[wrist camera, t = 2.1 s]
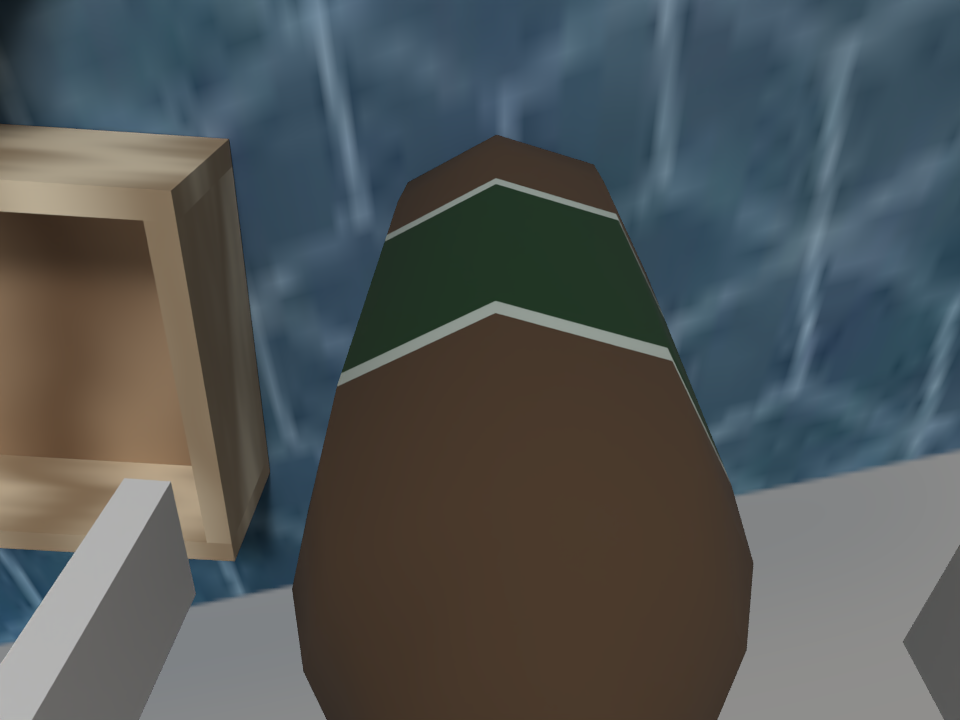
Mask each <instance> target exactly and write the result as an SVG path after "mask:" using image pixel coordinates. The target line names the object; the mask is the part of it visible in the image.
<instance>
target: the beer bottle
mask: <svg viewBox="0 0 960 720" xmlns="http://www.w3.org/2000/svg"><path fill="white" fill-rule="evenodd" d="M752 574H753V560H752V557H751V553H750V550H749V546H748V542H747V539H746V536H745V532H744V528H743V525H742V522H741V518H740V514H739V511H738V507H737V504H736V500H735V497H734V493H733V490H732V486H731V483H730V481H729V478H728V476H727V473H726V471H725V468H724V466H723V463H722V461H721V458H720V456H719V453H718V451H717V448H716V446H715V444H714V441H713V439H712V436H711V434H710V431H709V429H708V426H707V424H706V421H705V419H704V416H703V414H702V411H701V409H700V406H699V404H698V401H697V399H696V396H695V394H694V391H693V389H692V386H691V384H690V381H689V379H688V376H687V374H686V371H685V369H684V366H683V364H682V362H681V359H680V357H679V354H678V352H677V349H676V347H675V344H674V342H673V339H672V337H671V334H670V332H669V329H668V327H667V324H666V322H665V319H664V317H663V314H662V312H661V309H660V307H659V304H658V302H657V299H656V297H655V294H654V292H653V289H652V287H651V284H650V282H649V279H648V277H647V275H646V272H645V270H644V268H643V266H642V263H641V261H640V259H639V257H638V255H637V253H636V250H635V248H634V246H633V244H632V242H631V240H630V237H629V235H628V233H627V231H626V229H625V227H624V224H623V222H622V220H621V218H620V216H619V214H618V211H617V209H616V207H615V205H614V203H613V201H612V199H611V196H610V194H609V192H608V190H607V188H606V186H605V183H604V181H603V180H602V178H601V176H600V175H599V173H598V171H597V169H596V168H595V166H594V165H593V164H590V163H587V162H584V161H580V160H577V159H574V158H571V157H567V156H564V155H561V154H557V153H554V152H551V151H548V150H544V149H541V148H538V147H535V146H531V145H528V144H525V143H522V142H518V141H515V140H512V139H509V138H505V137H502V136H499V135H495V136H493V137H491V138H489V139H488V140H486V141H484V142H482V143H480V144H478V145H477V146H475V147H473V148H471V149H469V150H467V151H465V152H464V153H462V154H460V155H458V156H456V157H454V158H452V159H451V160H449V161H447V162H445V163H443V164H441V165H439V166H438V167H436V168H434V169H432V170H430V171H428V172H426V173H425V174H423V175H421V176H419V177H417V178H415V179H413V180H412V181H410V182H408V183H407V185H406V187H405V189H404V191H403V193H402V195H401V197H400V199H399V201H398V203H397V206H396V209H395V212H394V215H393V218H392V221H391V225H390V228H389V231H388V234H387V237H386V240H385V243H384V246H383V249H382V252H381V255H380V258H379V261H378V264H377V267H376V270H375V273H374V276H373V279H372V282H371V285H370V288H369V291H368V294H367V297H366V300H365V303H364V306H363V309H362V312H361V315H360V319H359V322H358V325H357V328H356V331H355V334H354V337H353V340H352V343H351V346H350V349H349V352H348V355H347V358H346V361H345V364H344V367H343V370H342V373H341V376H340V379H339V382H338V385H337V389H336V393H335V398H334V402H333V406H332V411H331V415H330V419H329V424H328V428H327V432H326V436H325V441H324V445H323V449H322V454H321V458H320V462H319V467H318V471H317V475H316V480H315V484H314V488H313V493H312V497H311V501H310V505H309V510H308V514H307V519H306V524H305V529H304V534H303V539H302V544H301V549H300V553H299V558H298V563H297V568H296V573H295V578H294V583H293V588H292V591H293V598H294V606H295V613H296V620H297V627H298V635H299V641H300V648H301V656H302V664H303V671H304V673H305V675H306V678H307V680H308V681H309V684H310V686H311V688H312V690H313V692H314V694H315V696H316V698H317V700H318V702H319V704H320V706H321V709H322V711H323V713H324V715H325V717H326V719H327V720H717V718H718V717H719V714H720V712H721V709H722V707H723V705H724V702H725V700H726V697H727V695H728V693H729V690H730V688H731V686H732V683H733V681H734V679H735V676H736V674H737V671H738V669H739V667H740V664H741V662H742V659H743V657H744V655H745V652H746V649H747V637H748V624H749V612H750V599H751V586H752Z"/></svg>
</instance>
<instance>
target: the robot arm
mask: <svg viewBox="0 0 960 720" xmlns="http://www.w3.org/2000/svg"><path fill="white" fill-rule="evenodd" d="M195 594H196V593H195V588H194V584H193V579H192V575H191V570H190V566H189V561H188V557H187V552H186V548H185V543H184V539H183V534H182V530H181V525H180V521H179V516H178V512H177V507H176V502H175V498H174V493H173V489H172V484H171V481H158V480H143V479H129V478H124V479H123V481H122V482H121V484H120V485H119V487H118V488H117V490H116V491H115V493H114V494H113V496H112V497H111V499H110V500H109V502H108V503H107V505H106V506H105V508H104V509H103V511H102V512H101V514H100V515H99V517H98V518H97V520H96V521H95V523H94V524H93V526H92V527H91V529H90V530H89V532H88V533H87V535H86V536H85V538H84V539H83V541H82V542H81V544H80V545H79V547H78V548H77V550H76V551H75V553H74V554H73V556H72V557H71V559H70V560H69V562H68V563H67V565H66V566H65V568H64V569H63V571H62V572H61V574H60V575H59V577H58V578H57V580H56V581H55V583H54V584H53V586H52V587H51V589H50V590H49V592H48V593H47V595H46V596H45V598H44V599H43V601H42V602H41V604H40V605H39V607H38V608H37V610H36V611H35V613H34V614H33V616H32V617H31V619H30V620H29V622H28V623H27V625H26V626H25V628H24V629H23V631H22V632H21V634H20V635H19V637H18V638H17V640H16V641H15V643H14V644H13V646H12V647H11V649H10V651H9V652H8V653H7V655H6V657H5V658H4V659H3V661H2V662H1V664H0V720H139V718H140V716H141V714H142V712H143V709H144V707H145V705H146V703H147V701H148V698H149V696H150V694H151V692H152V690H153V687H154V685H155V683H156V680H157V678H158V676H159V674H160V672H161V669H162V667H163V665H164V663H165V661H166V659H167V656H168V654H169V652H170V650H171V647H172V645H173V643H174V641H175V639H176V636H177V634H178V632H179V630H180V627H181V625H182V623H183V621H184V619H185V616H186V614H187V612H188V610H189V608H190V605H191V603H192V601H193V599H194V597H195ZM903 643H904V645H905V647H906V649H907V651H908V653H909V654H910V656H911V658H912V660H913V662H914V664H915V665H916V667H917V669H918V671H919V673H920V675H921V677H922V679H923V681H924V682H925V684H926V686H927V688H928V690H929V692H930V694H931V696H932V698H933V700H934V701H935V703H936V705H937V707H938V709H939V711H940V713H941V715H942V716H943V718H944V720H960V545H959V547H958V549H957V550H956V552H955V554H954V556H953V557H952V559H951V561H950V562H949V564H948V566H947V567H946V570H945V571H944V573H943V575H942V576H941V578H940V579H939V581H938V583H937V585H936V586H935V588H934V590H933V591H932V593H931V595H930V597H929V598H928V600H927V602H926V603H925V605H924V607H923V608H922V610H921V612H920V614H919V615H918V617H917V619H916V620H915V622H914V624H913V625H912V627H911V629H910V631H909V632H908V634H907V636H906V637H905V639H904V641H903Z"/></svg>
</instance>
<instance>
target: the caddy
mask: <svg viewBox="0 0 960 720" xmlns="http://www.w3.org/2000/svg"><path fill="white" fill-rule="evenodd" d="M269 473H270V469H269V461H268V452H267V444H266V436H265V428H264V420H263V412H262V404H261V396H260V388H259V380H258V371H257V363H256V355H255V347H254V339H253V331H252V323H251V315H250V307H249V298H248V290H247V282H246V274H245V266H244V258H243V250H242V242H241V234H240V225H239V217H238V209H237V201H236V193H235V185H234V177H233V169H232V161H231V152H230V144H229V139H221V138H206V137H191V136H176V135H160V134H145V133H130V132H115V131H100V130H85V129H70V128H55V127H40V126H25V125H10V124H0V548H11V549H29V550H46V551H64V552H75V551H76V550H77V548H78V547H79V545H80V544H81V542H82V541H83V539H84V538H85V536H86V535H87V533H88V532H89V530H90V529H91V527H92V526H93V524H94V523H95V521H96V520H97V518H98V517H99V515H100V514H101V512H102V511H103V509H104V508H105V506H106V505H107V503H108V502H109V500H110V499H111V497H112V496H113V494H114V493H115V491H116V490H117V488H118V487H119V485H120V484H121V482H122V481H123V479H124V478H129V479H143V480H158V481H171V484H172V489H173V493H174V498H175V502H176V507H177V512H178V516H179V521H180V525H181V530H182V534H183V539H184V543H185V548H186V552H187V557H188V559H205V560H222V561H235V559H236V557H237V554H238V552H239V549H240V547H241V544H242V542H243V539H244V537H245V534H246V531H247V529H248V526H249V524H250V521H251V519H252V516H253V514H254V511H255V509H256V506H257V504H258V501H259V499H260V496H261V494H262V491H263V488H264V486H265V483H266V481H267V478H268V476H269Z"/></svg>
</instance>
